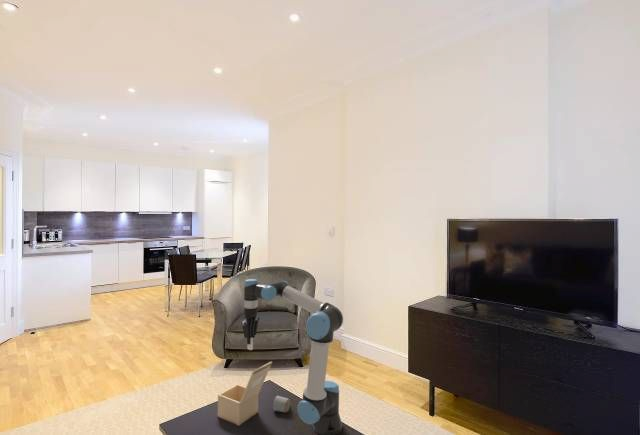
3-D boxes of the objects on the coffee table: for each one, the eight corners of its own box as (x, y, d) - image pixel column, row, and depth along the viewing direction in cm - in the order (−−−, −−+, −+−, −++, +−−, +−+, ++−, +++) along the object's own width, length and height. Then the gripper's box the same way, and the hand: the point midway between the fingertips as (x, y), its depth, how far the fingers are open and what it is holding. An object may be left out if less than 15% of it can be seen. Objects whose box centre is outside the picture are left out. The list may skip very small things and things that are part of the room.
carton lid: (258, 391, 198) (259, 392, 197) (239, 402, 185) (240, 403, 185) (271, 361, 193) (272, 362, 193) (253, 370, 181) (254, 371, 180)
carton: (258, 412, 198) (258, 391, 198) (238, 425, 185) (239, 403, 185) (237, 404, 206) (237, 384, 206) (217, 416, 193) (218, 394, 193)
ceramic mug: (285, 415, 195) (286, 401, 195) (272, 412, 198) (272, 399, 198) (292, 406, 205) (293, 393, 206) (279, 403, 208) (280, 390, 208)
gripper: (253, 303, 204) (252, 344, 204) (237, 308, 193) (236, 351, 193) (263, 305, 201) (262, 347, 200) (248, 310, 189) (247, 354, 189)
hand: (250, 349), depth 197 cm, fingers closed
